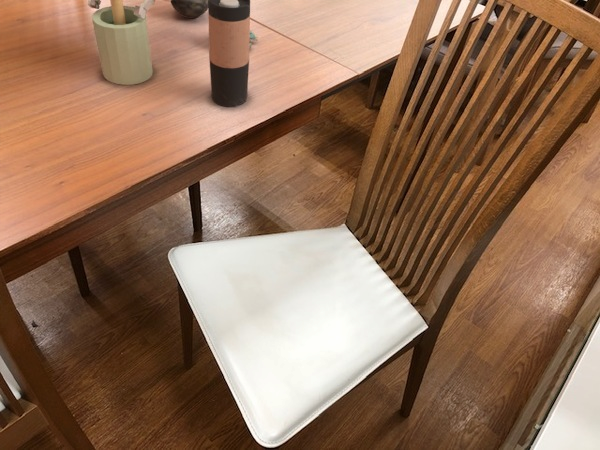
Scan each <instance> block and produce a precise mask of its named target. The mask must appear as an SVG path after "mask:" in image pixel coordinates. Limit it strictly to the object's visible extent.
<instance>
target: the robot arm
mask: <svg viewBox="0 0 600 450" xmlns="http://www.w3.org/2000/svg"><path fill="white" fill-rule="evenodd" d="M155 1H156V0H143V1H142V3H140V4H139V5H135V6H134V7H135V11H134V16H136V18H141V19H144V18H145V15H146V16H147V12H148V11H149V10H150V9H151V8H152V7H153V6H154V5H155ZM163 1H164V2H169V3H171V2H170V1H171V0H163ZM101 3H102V0H87V5H88V7H89V8H91V9H96V10H99V9H100V8H101Z"/></svg>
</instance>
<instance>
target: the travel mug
mask: <svg viewBox="0 0 600 450" xmlns="http://www.w3.org/2000/svg"><path fill="white" fill-rule="evenodd" d="M207 14H208V15H207V16H208V17H207V18H208V55H209V72H210V73H209V75H210V76H209V77H210V89H211V98H212V100H213V103H215V104H217V105H219V106H222V107H227V108H235V107H239V106H241V105H243V104H244V103H245V102H246V101H247V99H248V98H247V97H248V87H249V86H248V84H249V69H250V48H249V44H250V43H251V42H250V41H251V39H250V31H251V0H208V9H207Z"/></svg>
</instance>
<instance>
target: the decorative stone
mask: <svg viewBox="0 0 600 450" xmlns="http://www.w3.org/2000/svg"><path fill="white" fill-rule="evenodd" d="M169 3H170V5H171V6H172V7H173V9H174V10H175V12H176V13H177V14H178V15H180V16H182V17H185V18H187V19H196V18H199V17H202V16H203V15H204V14H205V13H206V12H208V0H171V1H170V2H169Z"/></svg>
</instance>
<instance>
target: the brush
mask: <svg viewBox="0 0 600 450" xmlns="http://www.w3.org/2000/svg"><path fill="white" fill-rule="evenodd" d="M109 1H110V6H111V7H112V13H113V19H114V25H126V20H125V14H124V7H123V6H124V1H123V0H109Z"/></svg>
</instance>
